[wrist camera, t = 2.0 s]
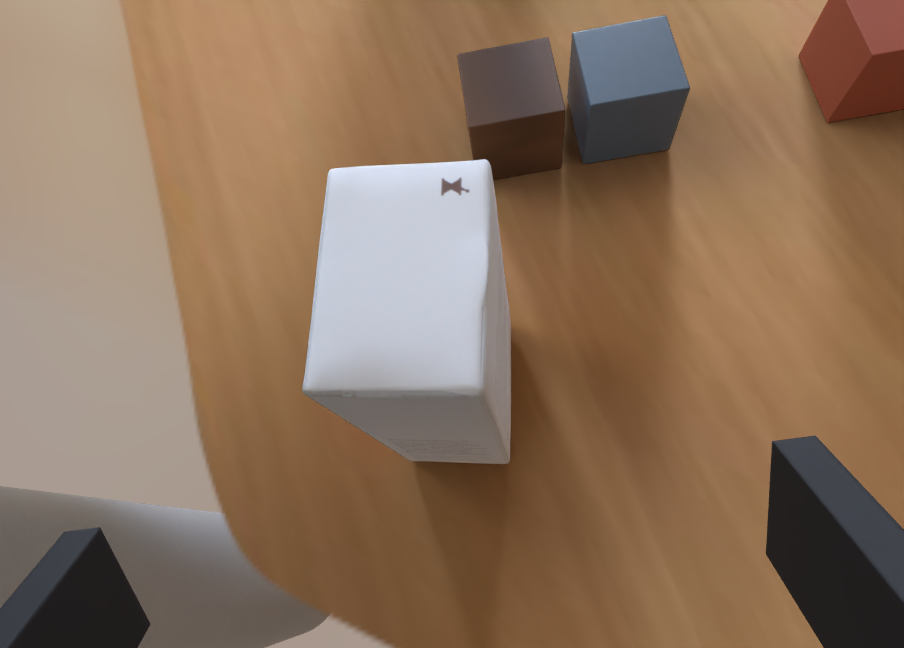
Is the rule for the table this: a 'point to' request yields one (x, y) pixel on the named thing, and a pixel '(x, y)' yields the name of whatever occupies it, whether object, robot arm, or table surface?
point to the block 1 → (514, 107)
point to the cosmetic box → (414, 311)
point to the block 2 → (625, 89)
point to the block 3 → (857, 58)
